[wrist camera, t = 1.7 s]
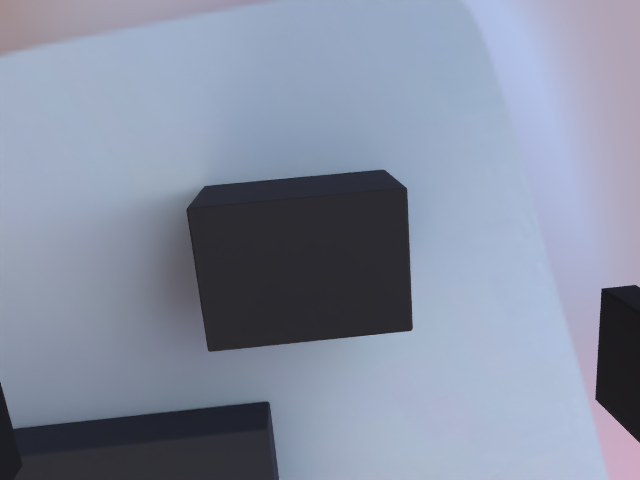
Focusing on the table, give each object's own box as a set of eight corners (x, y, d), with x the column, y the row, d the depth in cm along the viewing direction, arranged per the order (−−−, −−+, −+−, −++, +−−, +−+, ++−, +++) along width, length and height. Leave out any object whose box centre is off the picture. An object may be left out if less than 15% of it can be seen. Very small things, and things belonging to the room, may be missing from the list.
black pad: (203, 185, 21) (185, 208, 17) (385, 169, 21) (407, 187, 17) (220, 307, 22) (207, 352, 19) (391, 290, 23) (413, 331, 19)
